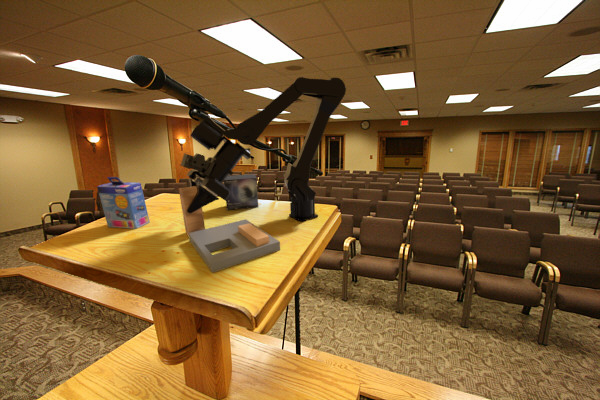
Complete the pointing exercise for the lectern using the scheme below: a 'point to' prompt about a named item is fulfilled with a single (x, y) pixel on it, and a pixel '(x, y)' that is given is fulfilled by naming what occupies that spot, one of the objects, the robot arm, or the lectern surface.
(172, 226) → the lectern surface
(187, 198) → the ochre column
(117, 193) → the ink cartridge box
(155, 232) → the lectern surface
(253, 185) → the small box
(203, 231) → the baseplate
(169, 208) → the lectern surface
